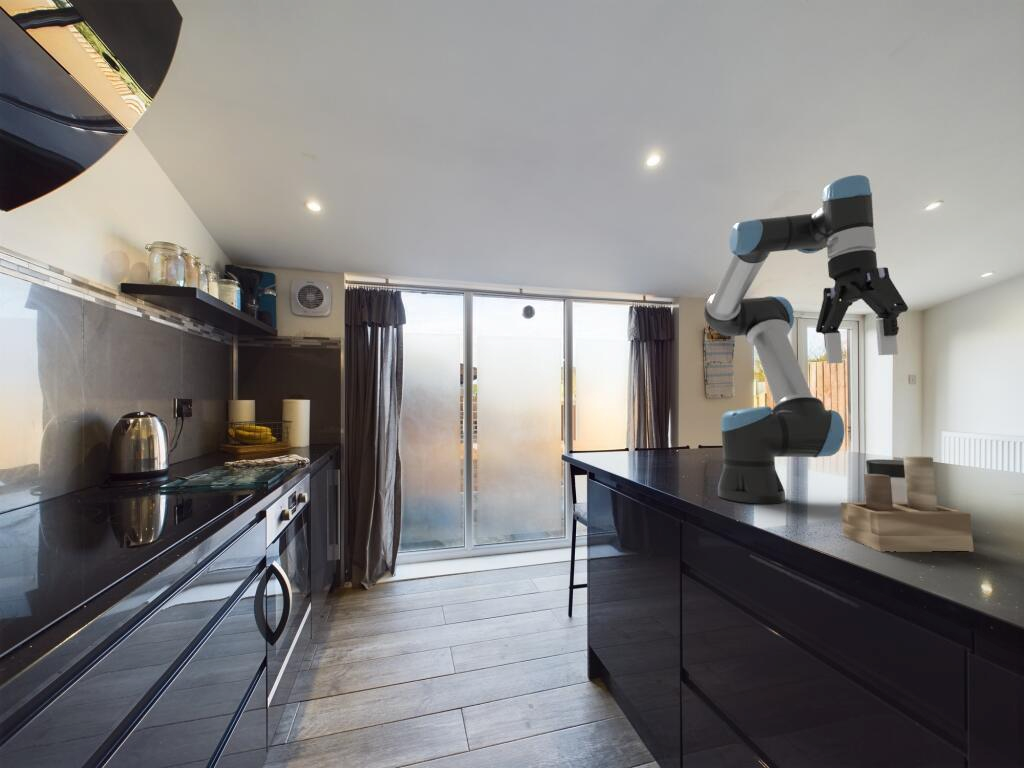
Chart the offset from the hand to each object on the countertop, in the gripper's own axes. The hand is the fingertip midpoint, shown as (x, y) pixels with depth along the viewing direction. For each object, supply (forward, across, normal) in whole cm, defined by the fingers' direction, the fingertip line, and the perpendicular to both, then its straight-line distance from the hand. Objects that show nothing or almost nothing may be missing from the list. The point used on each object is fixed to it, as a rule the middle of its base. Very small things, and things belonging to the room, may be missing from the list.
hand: (859, 359), depth 81 cm
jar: (+33, -3, +7) cm, 34 cm away
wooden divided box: (+33, +10, -2) cm, 34 cm away
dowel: (+30, +10, +1) cm, 32 cm away
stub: (+30, +10, -6) cm, 32 cm away
